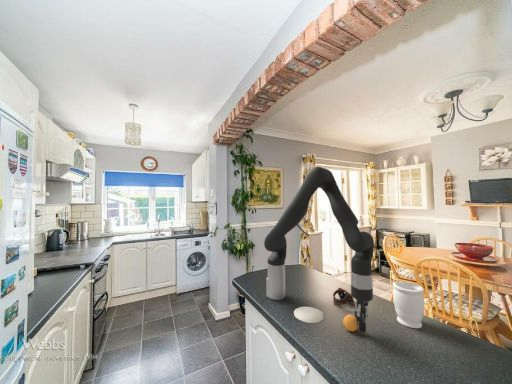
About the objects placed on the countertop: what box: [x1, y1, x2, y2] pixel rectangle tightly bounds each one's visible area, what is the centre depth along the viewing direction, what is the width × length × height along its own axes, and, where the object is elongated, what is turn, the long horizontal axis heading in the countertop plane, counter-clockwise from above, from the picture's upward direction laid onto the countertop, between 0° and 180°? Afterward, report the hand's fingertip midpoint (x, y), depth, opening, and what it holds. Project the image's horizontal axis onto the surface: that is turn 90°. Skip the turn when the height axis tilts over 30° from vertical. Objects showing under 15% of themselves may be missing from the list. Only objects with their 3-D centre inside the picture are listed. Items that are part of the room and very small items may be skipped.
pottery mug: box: [332, 287, 356, 307], centre depth 101 cm, size 12×10×8 cm
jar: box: [392, 281, 425, 329], centre depth 85 cm, size 11×10×15 cm
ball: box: [342, 314, 359, 332], centre depth 80 cm, size 6×6×6 cm
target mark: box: [293, 306, 325, 324], centre depth 91 cm, size 13×13×1 cm
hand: (362, 331), depth 78 cm, fingers closed
